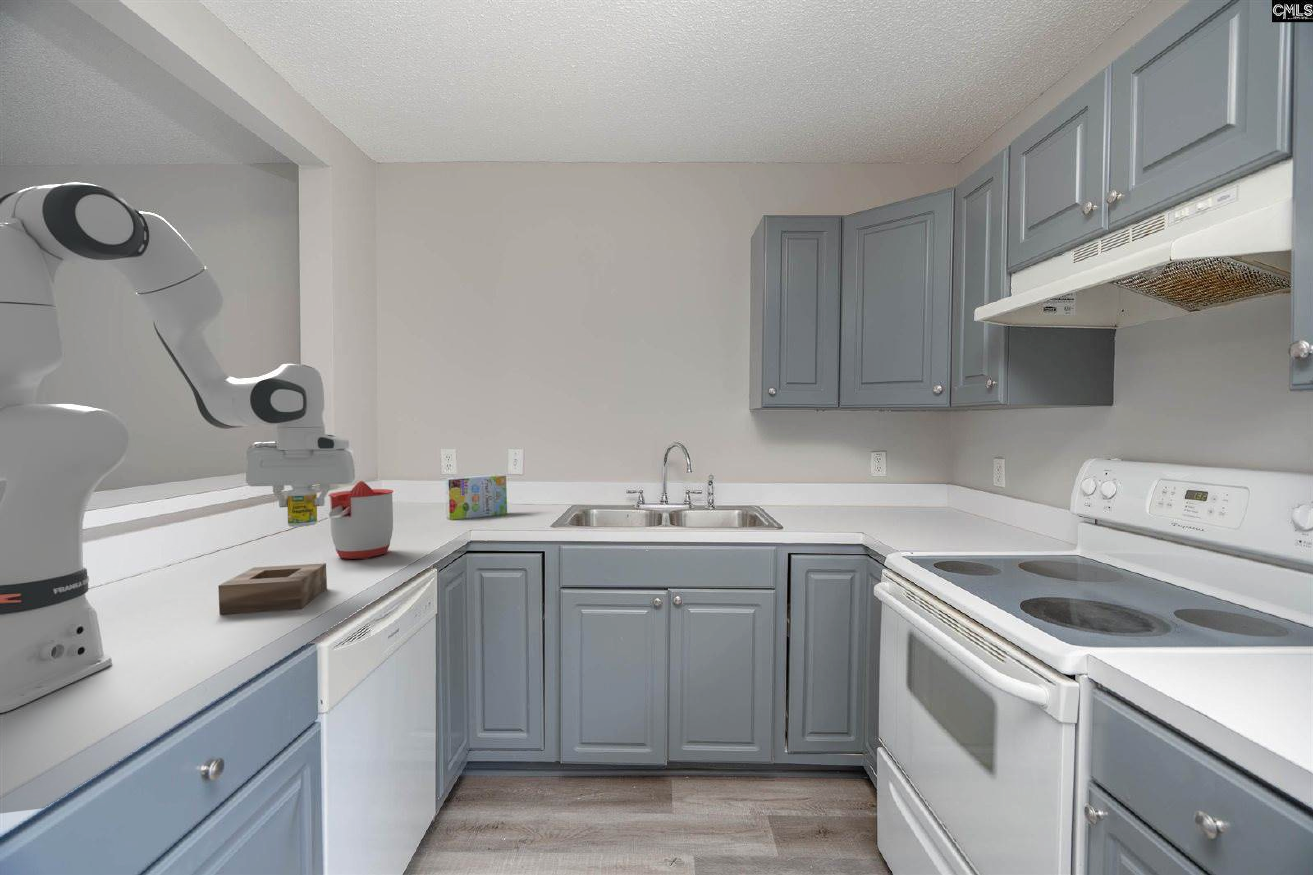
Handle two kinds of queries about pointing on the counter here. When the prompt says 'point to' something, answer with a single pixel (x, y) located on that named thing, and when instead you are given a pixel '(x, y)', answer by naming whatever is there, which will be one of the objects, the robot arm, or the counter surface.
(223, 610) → the socket block
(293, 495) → the supplement bottle
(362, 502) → the citrus juicer
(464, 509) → the snack box
